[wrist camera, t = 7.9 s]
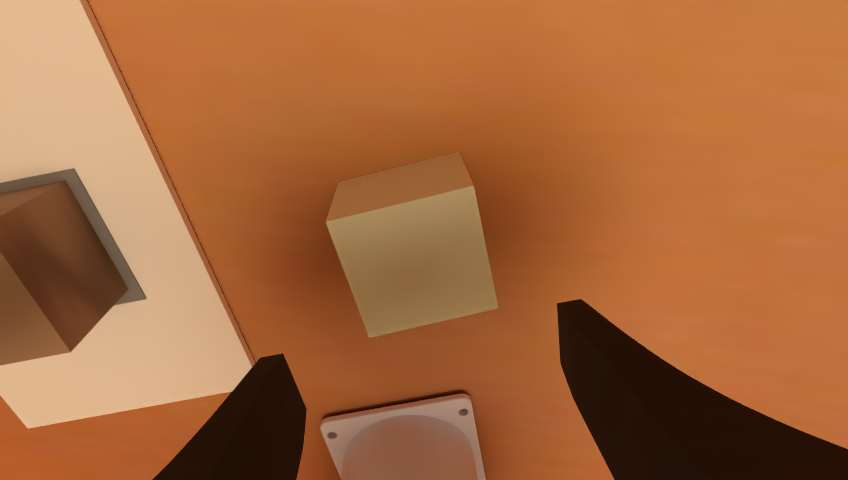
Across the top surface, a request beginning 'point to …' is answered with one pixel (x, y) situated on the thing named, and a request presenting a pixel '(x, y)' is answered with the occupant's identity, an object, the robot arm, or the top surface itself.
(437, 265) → the sage block
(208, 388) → the board
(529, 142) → the top surface
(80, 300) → the walnut block
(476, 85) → the top surface
